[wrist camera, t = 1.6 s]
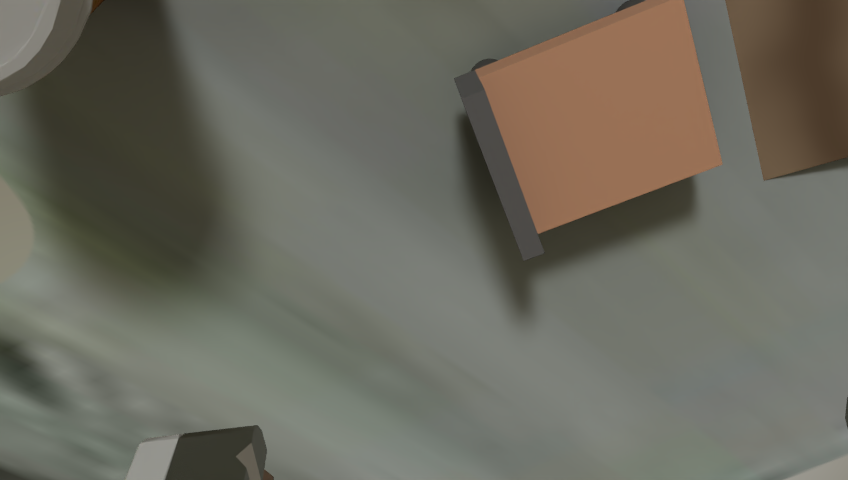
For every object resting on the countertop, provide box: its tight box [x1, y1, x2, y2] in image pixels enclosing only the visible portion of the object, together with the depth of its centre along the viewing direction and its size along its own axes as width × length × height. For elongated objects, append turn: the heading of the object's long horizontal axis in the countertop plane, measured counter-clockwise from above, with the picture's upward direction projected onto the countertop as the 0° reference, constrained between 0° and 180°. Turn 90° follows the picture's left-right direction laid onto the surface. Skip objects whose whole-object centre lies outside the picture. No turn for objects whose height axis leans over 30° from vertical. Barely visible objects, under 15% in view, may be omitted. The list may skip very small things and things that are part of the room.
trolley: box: [454, 0, 722, 261], centre depth 34 cm, size 10×8×6 cm
